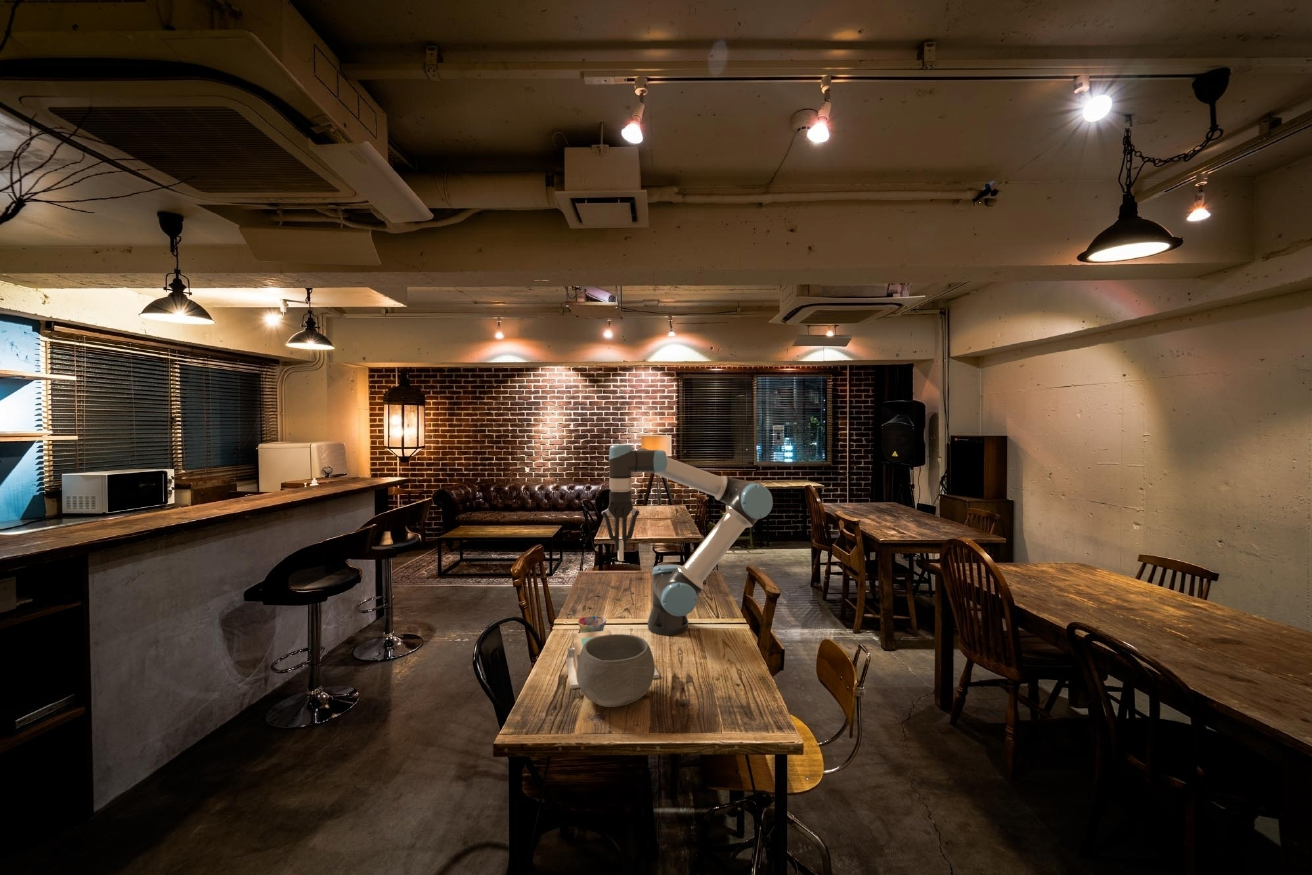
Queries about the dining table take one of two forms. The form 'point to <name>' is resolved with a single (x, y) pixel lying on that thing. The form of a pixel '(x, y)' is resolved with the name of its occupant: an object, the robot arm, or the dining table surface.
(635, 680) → the bowl
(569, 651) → the pin
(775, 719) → the dining table surface
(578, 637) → the block
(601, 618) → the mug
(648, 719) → the dining table surface
